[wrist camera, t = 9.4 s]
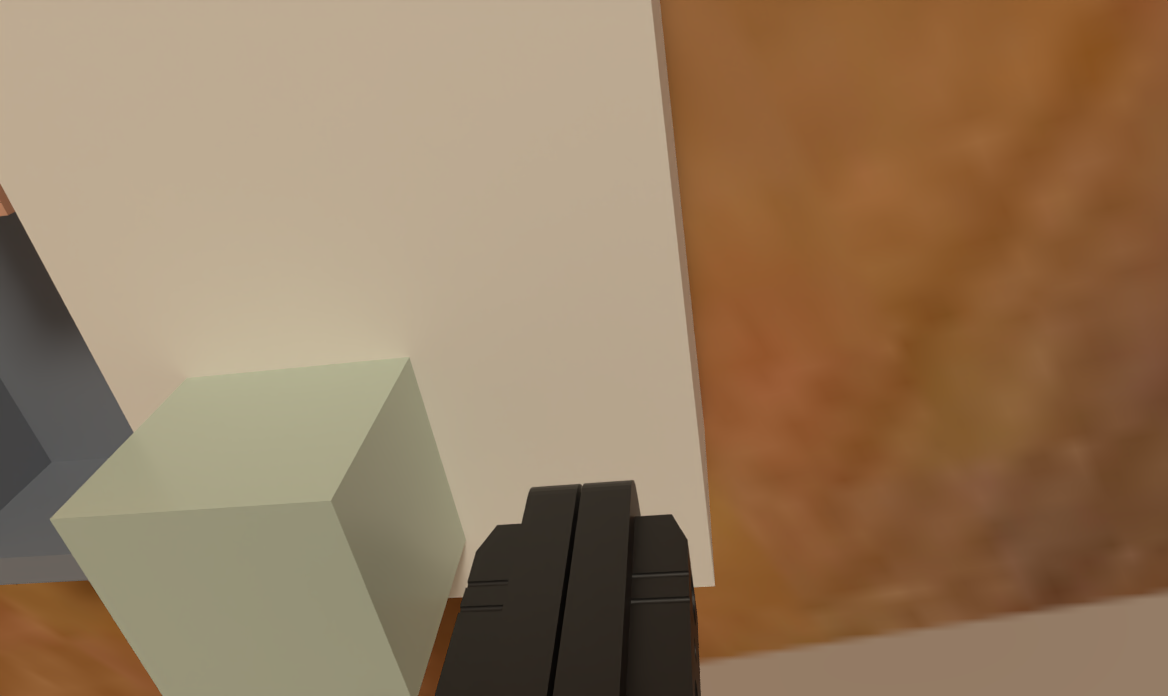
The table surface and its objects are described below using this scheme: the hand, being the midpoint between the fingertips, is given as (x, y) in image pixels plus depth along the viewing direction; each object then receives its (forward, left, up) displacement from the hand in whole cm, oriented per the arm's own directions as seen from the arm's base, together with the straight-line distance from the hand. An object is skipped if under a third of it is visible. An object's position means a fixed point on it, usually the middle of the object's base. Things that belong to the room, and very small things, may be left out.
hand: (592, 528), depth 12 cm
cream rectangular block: (+3, -4, -7) cm, 9 cm away
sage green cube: (+5, 0, -2) cm, 5 cm away
